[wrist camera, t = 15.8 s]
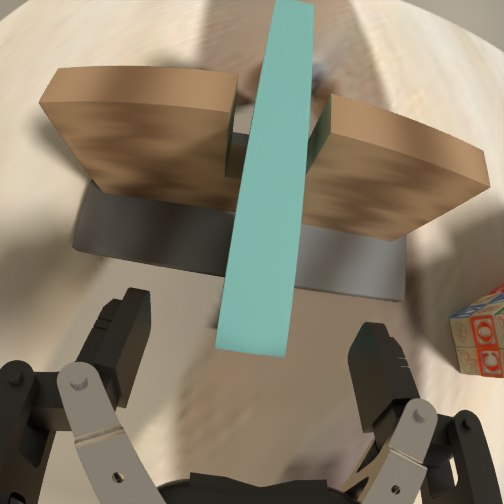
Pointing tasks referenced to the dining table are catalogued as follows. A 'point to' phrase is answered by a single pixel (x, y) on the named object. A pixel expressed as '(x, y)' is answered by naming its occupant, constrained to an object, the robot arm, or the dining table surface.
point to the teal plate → (271, 193)
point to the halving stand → (230, 174)
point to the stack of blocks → (481, 336)
